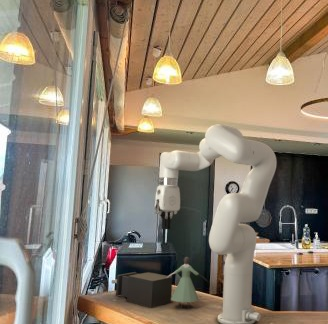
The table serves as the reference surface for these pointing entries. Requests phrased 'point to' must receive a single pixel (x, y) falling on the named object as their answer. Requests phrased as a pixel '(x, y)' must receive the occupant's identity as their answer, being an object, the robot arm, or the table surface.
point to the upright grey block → (149, 289)
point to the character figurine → (185, 285)
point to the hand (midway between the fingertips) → (165, 228)
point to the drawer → (122, 284)
